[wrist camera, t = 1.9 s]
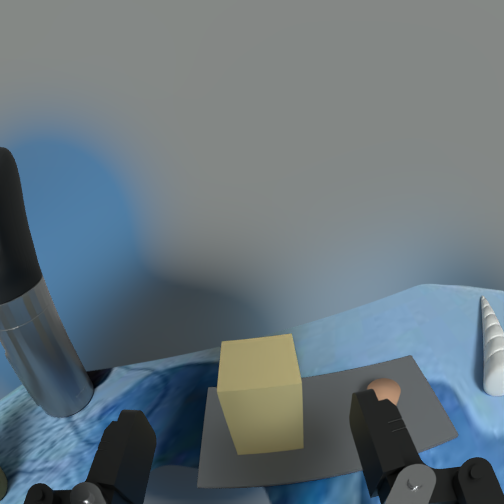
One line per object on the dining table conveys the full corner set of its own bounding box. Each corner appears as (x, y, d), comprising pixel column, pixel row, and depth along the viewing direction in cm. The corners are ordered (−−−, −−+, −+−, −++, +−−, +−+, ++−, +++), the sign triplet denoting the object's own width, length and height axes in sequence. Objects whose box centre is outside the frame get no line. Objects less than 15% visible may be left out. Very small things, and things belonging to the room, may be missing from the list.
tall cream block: (237, 454, 25) (216, 391, 21) (238, 408, 31) (221, 341, 27) (303, 448, 25) (301, 383, 21) (296, 402, 31) (291, 333, 27)
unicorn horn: (499, 300, 39) (504, 276, 38) (509, 400, 22) (524, 372, 20) (477, 297, 42) (481, 273, 40) (478, 397, 24) (491, 368, 23)
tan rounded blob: (368, 424, 26) (372, 407, 25) (359, 400, 29) (362, 382, 28) (399, 415, 26) (405, 398, 24) (389, 392, 29) (393, 375, 28)
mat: (198, 488, 21) (196, 486, 21) (209, 389, 35) (208, 387, 34) (457, 437, 21) (458, 435, 21) (410, 357, 34) (411, 355, 34)
